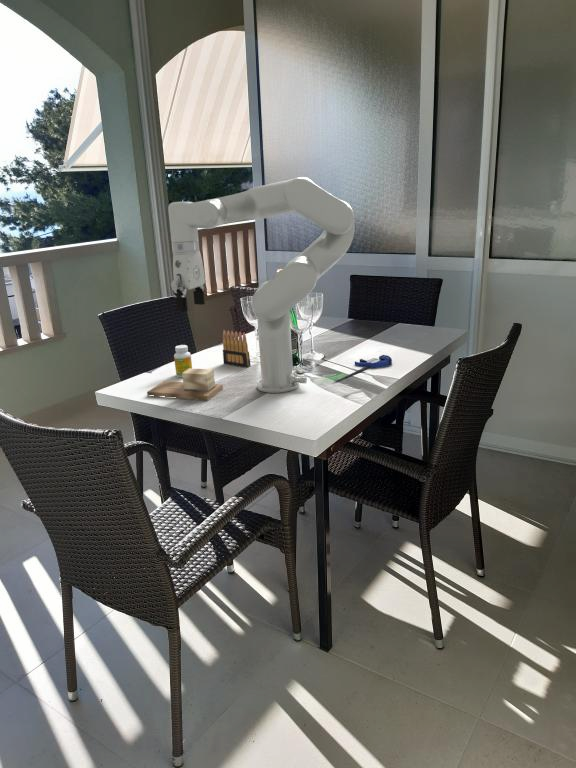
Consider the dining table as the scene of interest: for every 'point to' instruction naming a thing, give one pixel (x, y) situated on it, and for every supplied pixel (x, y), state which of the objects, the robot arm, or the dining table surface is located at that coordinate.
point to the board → (182, 391)
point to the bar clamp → (370, 364)
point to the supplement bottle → (182, 359)
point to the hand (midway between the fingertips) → (191, 307)
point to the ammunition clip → (235, 350)
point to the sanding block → (198, 380)
